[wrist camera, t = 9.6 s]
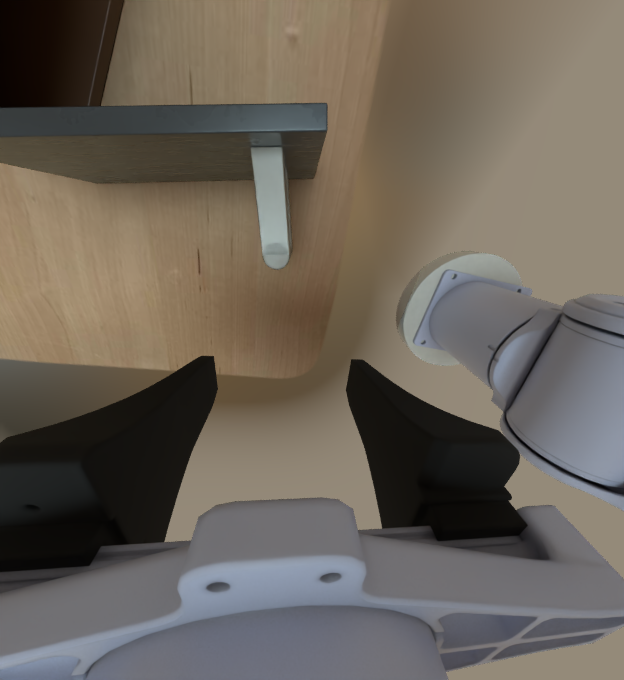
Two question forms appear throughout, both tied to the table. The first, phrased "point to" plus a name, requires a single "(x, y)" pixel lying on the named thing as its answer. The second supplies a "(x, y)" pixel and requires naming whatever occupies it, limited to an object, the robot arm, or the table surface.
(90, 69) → the cabinet
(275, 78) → the table surface
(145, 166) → the door
